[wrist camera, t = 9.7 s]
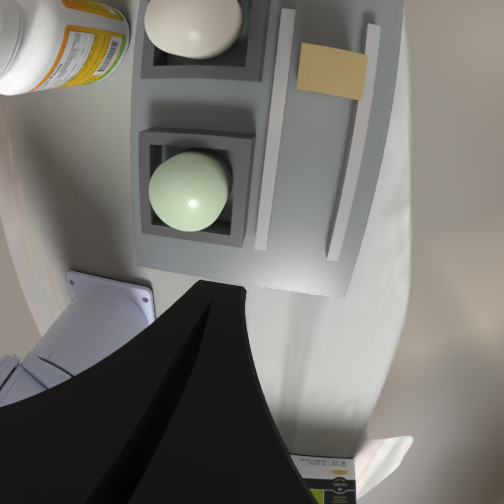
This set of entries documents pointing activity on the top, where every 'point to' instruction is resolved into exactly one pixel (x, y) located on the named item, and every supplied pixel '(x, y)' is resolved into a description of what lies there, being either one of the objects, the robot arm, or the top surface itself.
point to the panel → (268, 144)
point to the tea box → (328, 478)
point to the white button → (194, 26)
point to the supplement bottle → (58, 43)
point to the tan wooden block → (331, 71)
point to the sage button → (191, 189)
